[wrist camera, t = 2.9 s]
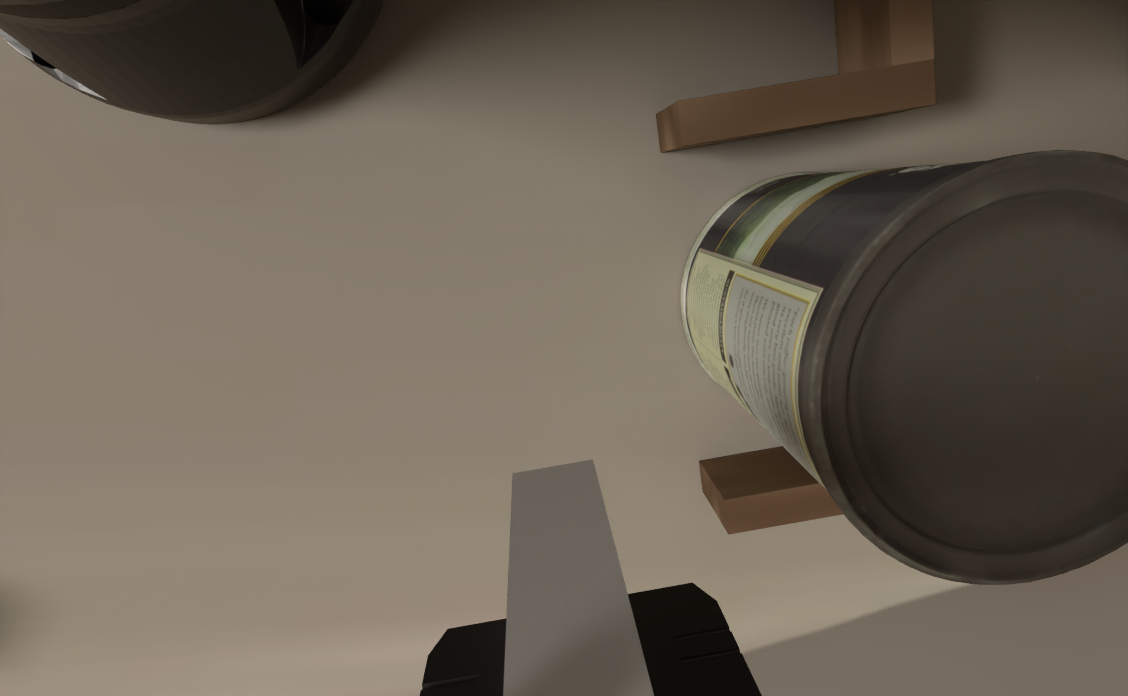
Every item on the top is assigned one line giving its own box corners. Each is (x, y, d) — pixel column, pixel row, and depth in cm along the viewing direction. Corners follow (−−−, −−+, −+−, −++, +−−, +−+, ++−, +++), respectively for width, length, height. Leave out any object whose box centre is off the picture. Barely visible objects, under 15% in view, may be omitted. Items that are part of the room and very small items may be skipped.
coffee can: (745, 128, 28) (964, 63, 14) (956, 234, 29) (1344, 270, 15) (635, 355, 29) (732, 496, 16) (839, 444, 31) (1091, 644, 17)
